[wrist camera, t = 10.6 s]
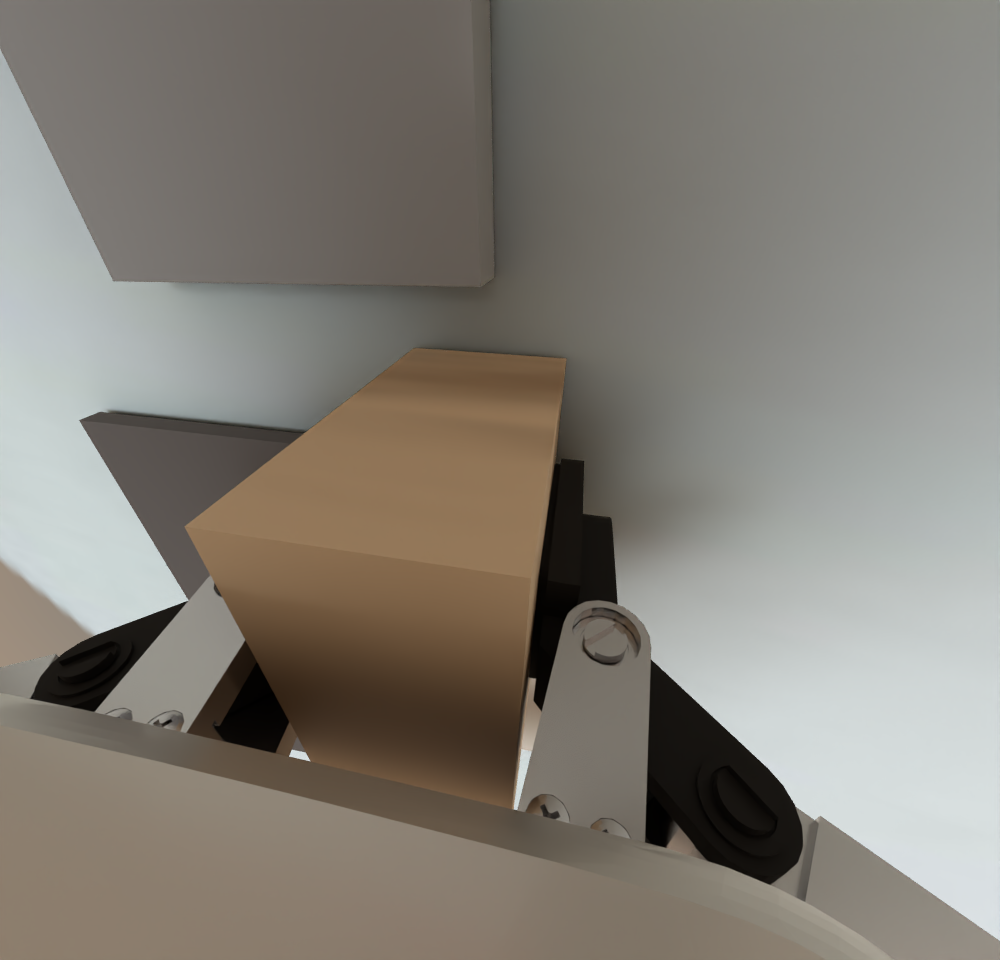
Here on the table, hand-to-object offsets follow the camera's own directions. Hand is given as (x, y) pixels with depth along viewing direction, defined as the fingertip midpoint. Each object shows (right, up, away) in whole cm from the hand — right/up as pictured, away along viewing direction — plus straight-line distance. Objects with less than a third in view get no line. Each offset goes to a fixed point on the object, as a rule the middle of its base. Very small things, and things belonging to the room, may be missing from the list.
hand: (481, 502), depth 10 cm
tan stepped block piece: (0, -4, +3) cm, 5 cm away
